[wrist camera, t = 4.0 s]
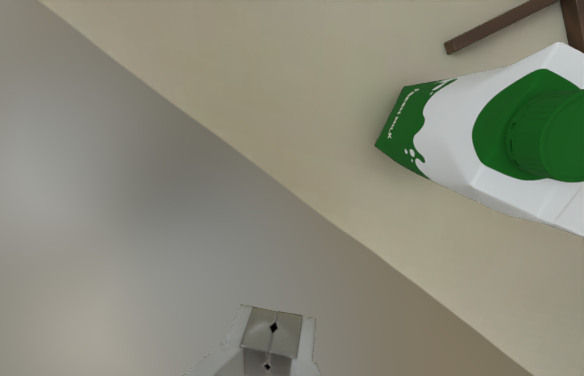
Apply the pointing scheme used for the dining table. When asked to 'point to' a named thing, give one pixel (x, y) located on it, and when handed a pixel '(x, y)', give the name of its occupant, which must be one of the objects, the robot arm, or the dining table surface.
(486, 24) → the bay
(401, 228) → the dining table surface
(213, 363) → the robot arm
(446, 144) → the soya milk
